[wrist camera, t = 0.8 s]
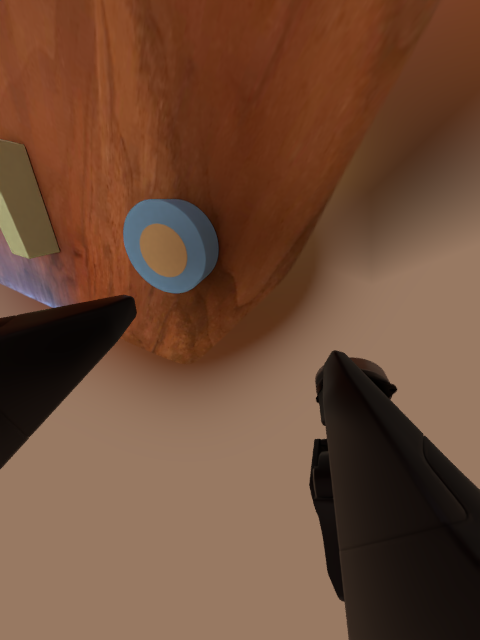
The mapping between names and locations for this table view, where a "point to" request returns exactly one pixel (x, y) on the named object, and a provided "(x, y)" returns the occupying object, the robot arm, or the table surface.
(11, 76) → the table surface
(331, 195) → the table surface
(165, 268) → the tape roll
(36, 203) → the stop block
